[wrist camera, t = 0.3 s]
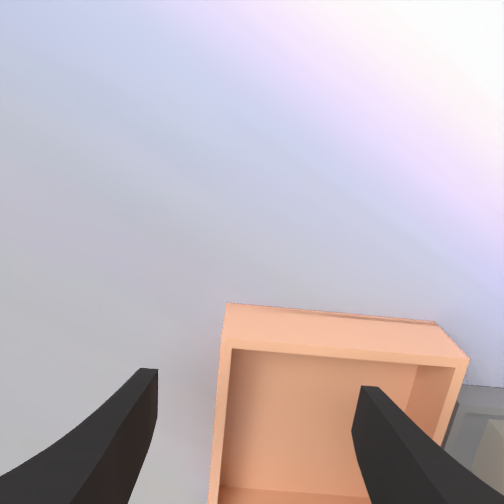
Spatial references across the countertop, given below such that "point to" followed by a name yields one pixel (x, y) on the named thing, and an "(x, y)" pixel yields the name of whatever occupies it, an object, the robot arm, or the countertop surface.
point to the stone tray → (471, 421)
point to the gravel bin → (317, 398)
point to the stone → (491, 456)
